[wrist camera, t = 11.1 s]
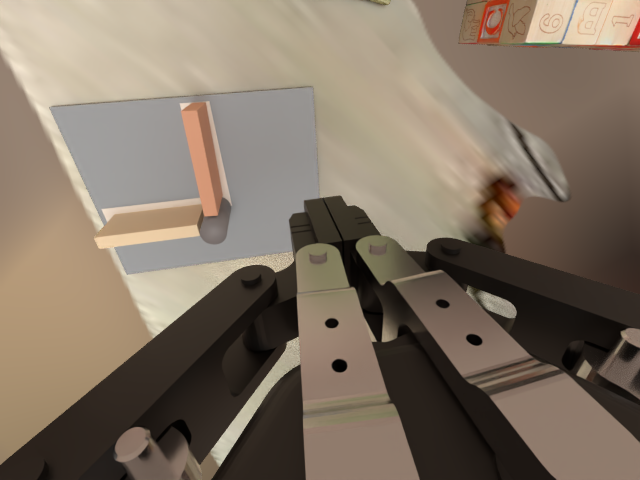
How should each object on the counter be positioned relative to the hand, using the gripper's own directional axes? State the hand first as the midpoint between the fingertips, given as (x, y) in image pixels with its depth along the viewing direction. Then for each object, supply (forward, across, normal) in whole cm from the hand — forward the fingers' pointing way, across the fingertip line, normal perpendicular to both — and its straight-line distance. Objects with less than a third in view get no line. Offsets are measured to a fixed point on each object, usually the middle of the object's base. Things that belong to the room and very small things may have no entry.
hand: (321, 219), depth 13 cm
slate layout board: (+22, +8, +6) cm, 24 cm away
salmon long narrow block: (+21, +8, +2) cm, 22 cm away
